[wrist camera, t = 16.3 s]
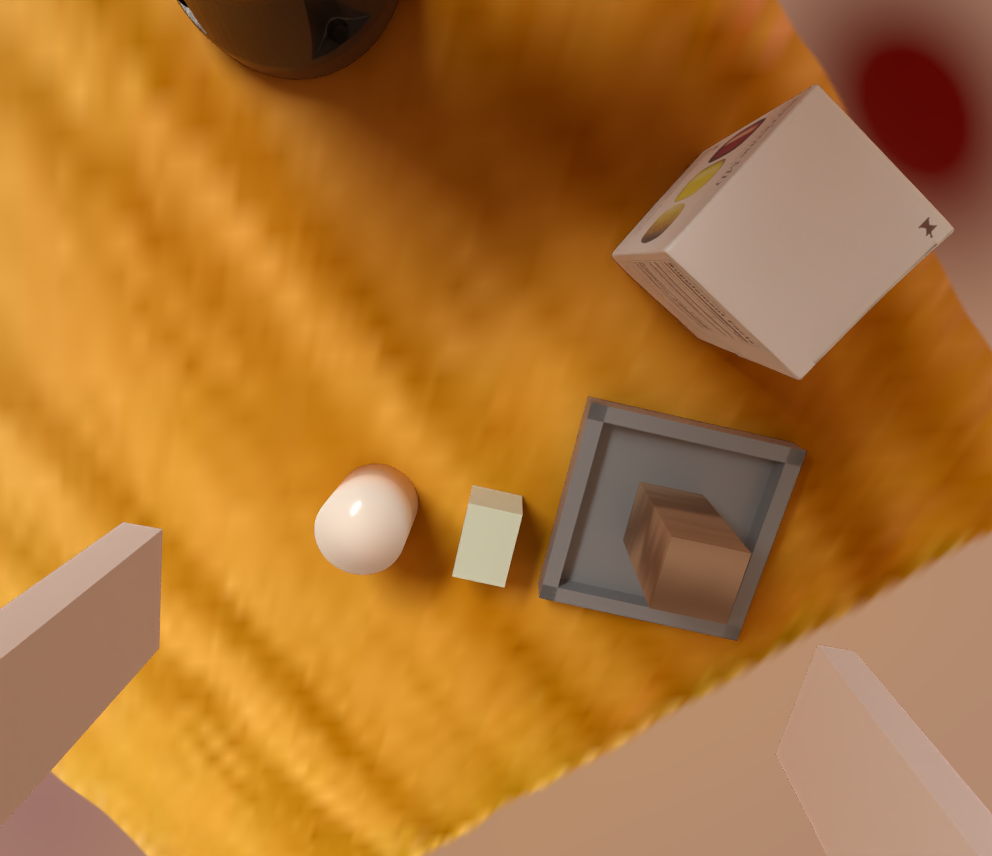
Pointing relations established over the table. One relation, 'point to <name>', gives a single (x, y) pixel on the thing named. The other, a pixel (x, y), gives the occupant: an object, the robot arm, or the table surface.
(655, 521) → the walnut block
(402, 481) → the glossy white capsule
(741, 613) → the tray
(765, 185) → the supplement box
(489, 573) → the cream box
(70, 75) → the table surface
